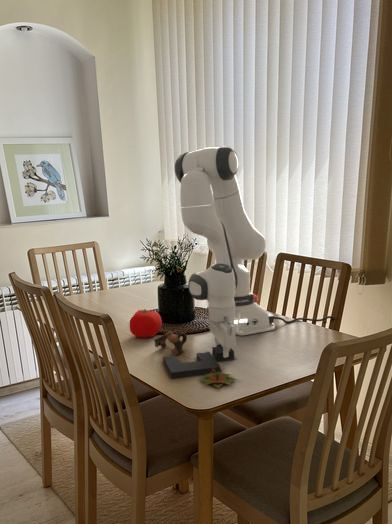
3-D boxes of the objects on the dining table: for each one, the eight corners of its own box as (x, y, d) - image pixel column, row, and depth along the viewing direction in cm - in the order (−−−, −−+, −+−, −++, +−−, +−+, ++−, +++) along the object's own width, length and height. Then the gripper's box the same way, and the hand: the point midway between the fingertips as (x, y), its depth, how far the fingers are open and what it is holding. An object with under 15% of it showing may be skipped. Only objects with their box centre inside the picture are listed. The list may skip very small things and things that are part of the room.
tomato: (126, 334, 212) (124, 308, 208) (156, 329, 217) (155, 304, 214) (136, 342, 203) (135, 316, 199) (168, 337, 208) (166, 311, 204)
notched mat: (209, 357, 187) (209, 351, 187) (220, 372, 175) (220, 366, 174) (163, 362, 184) (163, 356, 183) (171, 378, 171) (171, 372, 170)
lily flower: (217, 370, 176) (217, 357, 174) (245, 381, 168) (245, 367, 166) (190, 381, 168) (189, 368, 167) (217, 393, 160) (217, 379, 159)
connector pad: (228, 353, 190) (228, 345, 189) (234, 359, 185) (234, 351, 184) (212, 355, 189) (212, 347, 188) (217, 361, 184) (217, 353, 183)
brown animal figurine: (168, 360, 187) (156, 338, 187) (158, 363, 196) (147, 343, 195) (195, 344, 192) (184, 323, 192) (185, 348, 201) (174, 328, 200)
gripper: (240, 321, 173) (240, 362, 177) (222, 304, 191) (222, 342, 196) (221, 323, 171) (221, 364, 176) (205, 306, 190) (205, 343, 195)
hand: (222, 352), depth 186 cm, fingers open, 7 cm apart
